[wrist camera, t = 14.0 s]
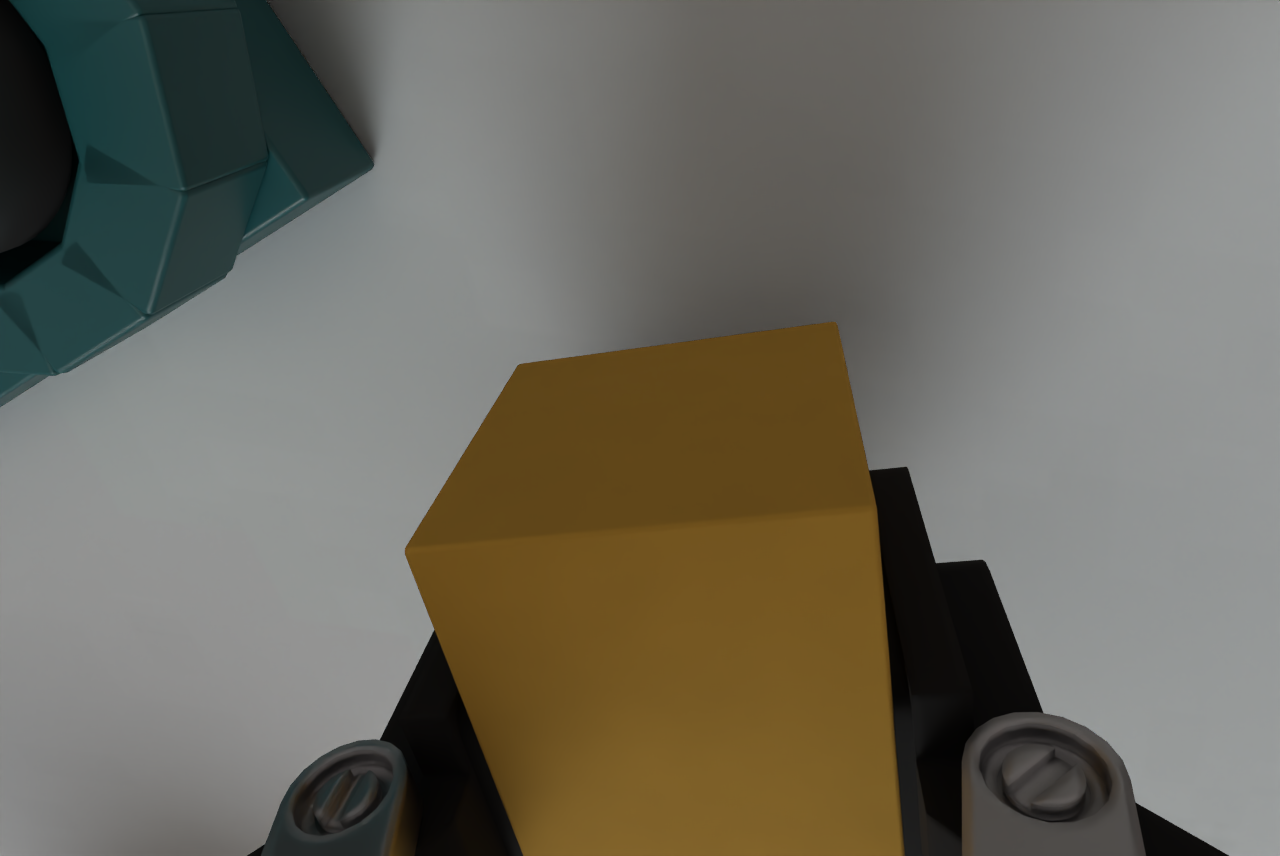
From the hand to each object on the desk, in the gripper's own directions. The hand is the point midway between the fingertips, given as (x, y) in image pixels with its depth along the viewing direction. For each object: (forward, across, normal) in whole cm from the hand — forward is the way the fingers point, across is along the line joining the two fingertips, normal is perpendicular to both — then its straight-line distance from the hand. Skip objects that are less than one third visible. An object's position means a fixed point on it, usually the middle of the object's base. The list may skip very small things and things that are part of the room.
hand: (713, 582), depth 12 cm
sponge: (0, 0, 0) cm, 0 cm away
